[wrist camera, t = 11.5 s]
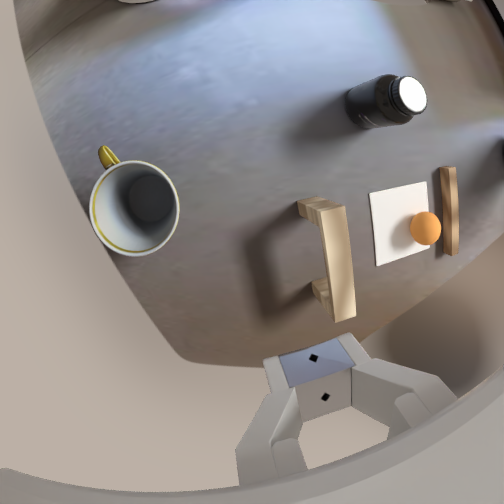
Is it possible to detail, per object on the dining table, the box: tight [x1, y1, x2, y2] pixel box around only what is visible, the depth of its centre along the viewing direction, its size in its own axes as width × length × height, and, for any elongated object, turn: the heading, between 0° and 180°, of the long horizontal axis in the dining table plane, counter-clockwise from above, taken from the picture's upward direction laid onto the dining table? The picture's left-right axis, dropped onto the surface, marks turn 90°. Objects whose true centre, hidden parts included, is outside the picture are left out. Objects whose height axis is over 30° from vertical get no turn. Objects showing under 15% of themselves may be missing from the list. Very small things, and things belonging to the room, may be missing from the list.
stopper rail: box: [439, 166, 459, 256], centre depth 42 cm, size 16×2×2 cm, turn 13°
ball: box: [410, 211, 441, 245], centre depth 40 cm, size 6×6×6 cm
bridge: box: [297, 196, 356, 323], centre depth 37 cm, size 3×14×9 cm, turn 13°
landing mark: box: [369, 181, 430, 266], centre depth 42 cm, size 12×12×1 cm
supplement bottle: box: [345, 74, 427, 129], centre depth 30 cm, size 7×7×12 cm
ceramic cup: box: [89, 145, 180, 257], centre depth 31 cm, size 13×10×10 cm
